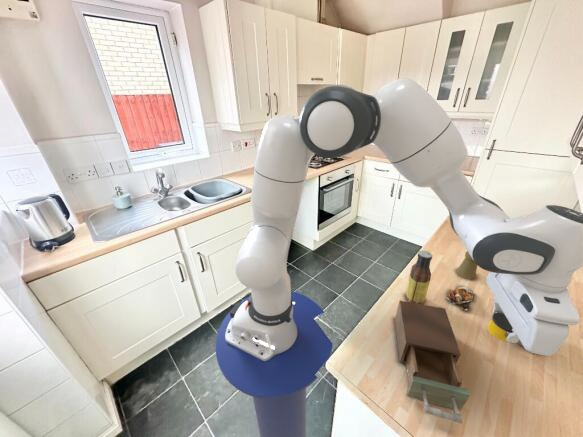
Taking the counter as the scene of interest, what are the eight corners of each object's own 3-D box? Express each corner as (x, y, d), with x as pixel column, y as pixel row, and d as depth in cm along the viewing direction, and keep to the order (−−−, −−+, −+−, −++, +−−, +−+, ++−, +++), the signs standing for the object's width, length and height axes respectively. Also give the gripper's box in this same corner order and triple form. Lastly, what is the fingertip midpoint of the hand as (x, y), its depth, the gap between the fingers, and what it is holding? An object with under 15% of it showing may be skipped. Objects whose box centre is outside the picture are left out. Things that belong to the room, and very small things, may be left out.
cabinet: (450, 374, 64) (461, 354, 60) (399, 362, 67) (406, 342, 63) (437, 327, 76) (445, 308, 72) (394, 319, 79) (399, 300, 75)
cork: (456, 267, 100) (464, 245, 95) (473, 271, 98) (483, 249, 93) (457, 276, 96) (466, 254, 90) (475, 281, 93) (486, 258, 88)
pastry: (475, 293, 88) (479, 285, 86) (467, 312, 81) (470, 305, 79) (454, 283, 92) (456, 276, 91) (443, 301, 85) (446, 293, 83)
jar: (492, 339, 55) (498, 328, 53) (483, 321, 59) (489, 310, 57) (518, 344, 54) (526, 333, 52) (507, 326, 58) (514, 315, 56)
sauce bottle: (426, 298, 86) (441, 253, 77) (420, 309, 82) (435, 263, 73) (407, 289, 90) (419, 246, 81) (401, 299, 86) (413, 254, 77)
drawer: (467, 435, 52) (478, 420, 49) (410, 419, 55) (416, 403, 51) (444, 355, 67) (451, 340, 64) (400, 345, 70) (405, 330, 67)
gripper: (490, 250, 58) (471, 292, 65) (542, 319, 41) (508, 367, 48) (521, 254, 57) (498, 297, 63) (588, 328, 40) (547, 375, 46)
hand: (503, 327), depth 55 cm, fingers closed on jar, 5 cm apart
